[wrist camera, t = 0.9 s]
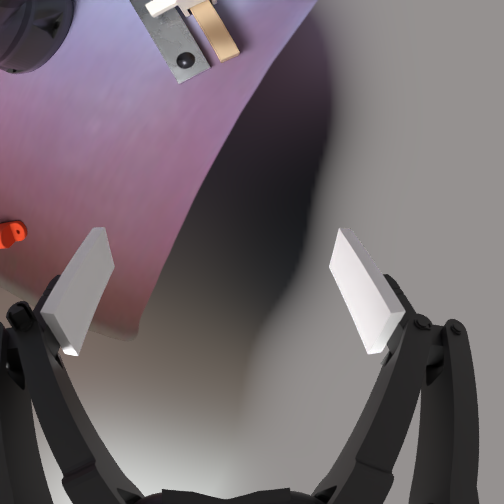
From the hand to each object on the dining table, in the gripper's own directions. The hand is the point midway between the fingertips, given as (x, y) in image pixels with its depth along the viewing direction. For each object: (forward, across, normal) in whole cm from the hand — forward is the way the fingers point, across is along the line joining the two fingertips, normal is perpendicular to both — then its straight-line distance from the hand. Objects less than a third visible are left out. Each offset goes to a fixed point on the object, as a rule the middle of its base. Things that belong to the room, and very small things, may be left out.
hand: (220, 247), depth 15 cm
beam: (+26, -5, +22) cm, 34 cm away
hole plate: (+26, -9, +19) cm, 33 cm away
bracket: (+26, -44, -13) cm, 53 cm away
